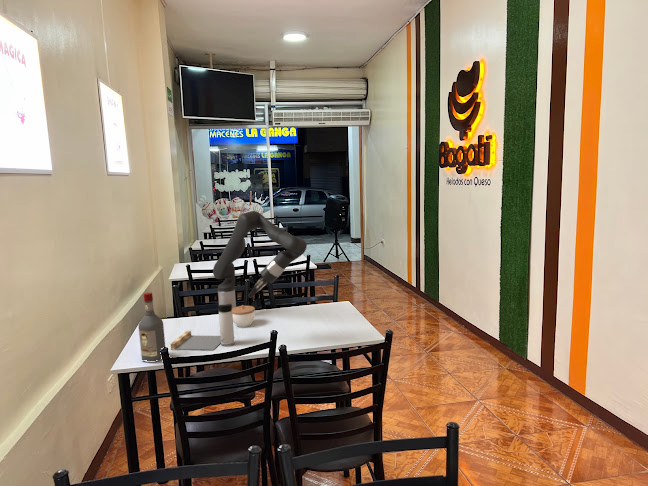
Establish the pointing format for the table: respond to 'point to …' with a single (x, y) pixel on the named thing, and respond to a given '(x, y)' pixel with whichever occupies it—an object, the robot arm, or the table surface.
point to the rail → (180, 340)
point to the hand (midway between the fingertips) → (249, 296)
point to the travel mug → (226, 325)
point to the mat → (200, 343)
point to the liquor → (151, 332)
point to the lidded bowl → (243, 315)
